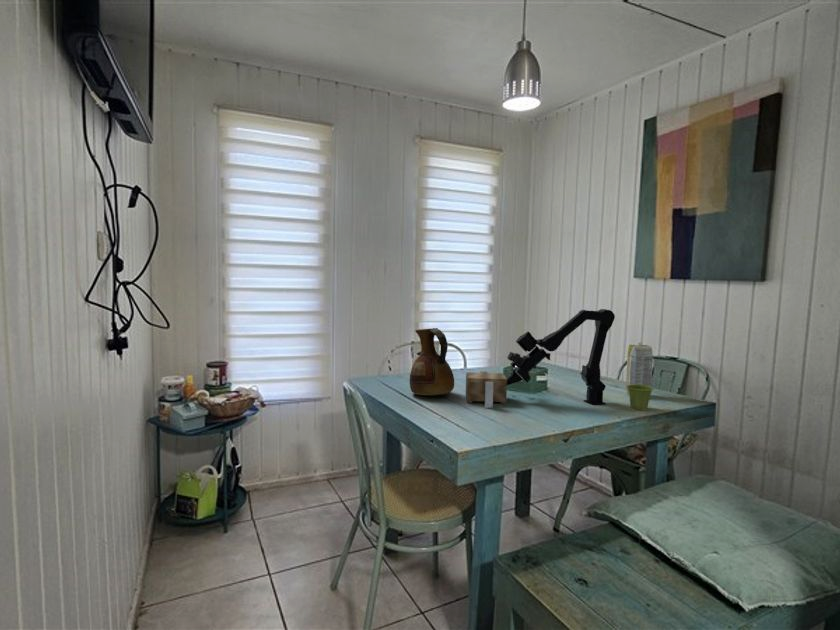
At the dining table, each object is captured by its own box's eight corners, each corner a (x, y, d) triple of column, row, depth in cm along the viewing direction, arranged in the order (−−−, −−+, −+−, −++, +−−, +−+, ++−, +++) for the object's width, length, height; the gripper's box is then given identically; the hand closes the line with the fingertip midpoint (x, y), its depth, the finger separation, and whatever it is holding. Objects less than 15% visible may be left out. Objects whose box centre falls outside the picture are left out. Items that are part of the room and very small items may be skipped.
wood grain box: (502, 397, 203) (503, 373, 202) (506, 404, 191) (506, 379, 190) (465, 396, 204) (466, 372, 203) (467, 403, 192) (467, 378, 191)
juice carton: (645, 394, 212) (647, 341, 210) (652, 398, 204) (654, 344, 202) (624, 393, 213) (626, 341, 211) (630, 397, 205) (632, 343, 203)
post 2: (491, 406, 188) (492, 381, 187) (492, 408, 185) (493, 383, 184) (484, 406, 188) (485, 381, 187) (485, 408, 185) (485, 383, 184)
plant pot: (657, 410, 185) (658, 388, 184) (639, 412, 182) (640, 390, 181) (638, 404, 194) (639, 383, 193) (621, 406, 190) (622, 385, 190)
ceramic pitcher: (427, 387, 219) (428, 324, 217) (463, 394, 207) (464, 327, 204) (399, 395, 204) (400, 327, 202) (436, 403, 191) (437, 330, 189)
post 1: (486, 393, 210) (487, 371, 209) (487, 394, 207) (487, 372, 206) (479, 393, 210) (480, 371, 209) (480, 394, 207) (480, 372, 206)
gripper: (515, 342, 204) (489, 366, 206) (523, 348, 186) (494, 375, 187) (533, 360, 205) (507, 384, 206) (542, 368, 186) (513, 395, 187)
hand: (505, 384), depth 197 cm, fingers closed, pressing on wood grain box
